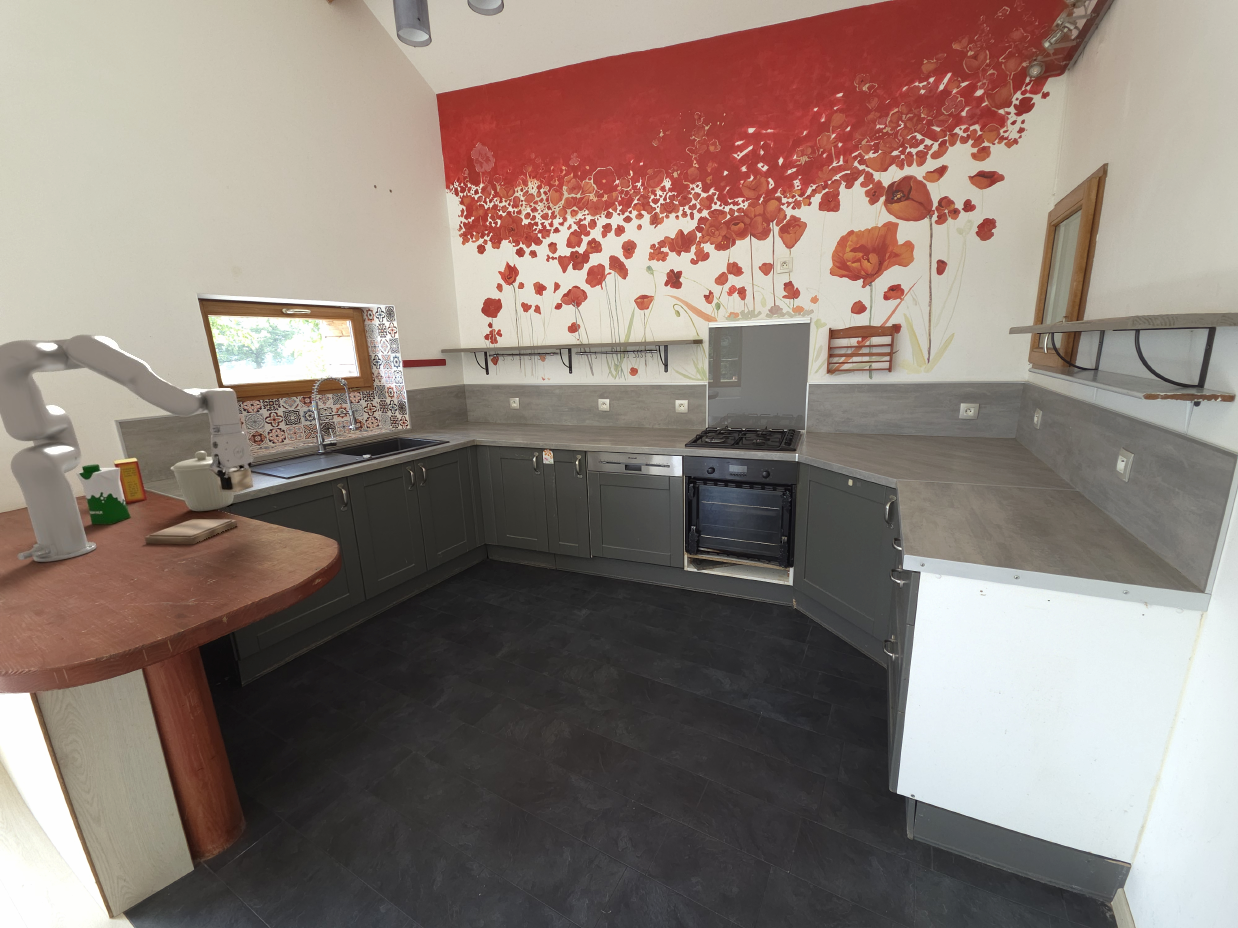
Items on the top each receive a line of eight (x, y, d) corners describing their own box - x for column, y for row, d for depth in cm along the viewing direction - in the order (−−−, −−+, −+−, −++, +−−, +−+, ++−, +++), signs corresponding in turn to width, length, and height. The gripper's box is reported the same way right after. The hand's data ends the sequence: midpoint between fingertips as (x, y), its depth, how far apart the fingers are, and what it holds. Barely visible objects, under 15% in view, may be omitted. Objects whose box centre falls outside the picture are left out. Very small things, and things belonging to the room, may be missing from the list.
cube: (237, 492, 162) (234, 473, 160) (220, 491, 163) (216, 472, 161) (253, 487, 168) (250, 468, 166) (236, 486, 168) (233, 468, 167)
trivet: (193, 544, 156) (191, 536, 156) (146, 543, 159) (144, 535, 158) (237, 525, 172) (236, 518, 171) (194, 525, 174) (192, 518, 173)
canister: (209, 516, 183) (196, 456, 179) (167, 514, 187) (153, 456, 182) (253, 500, 201) (243, 446, 196) (214, 499, 204) (203, 446, 200)
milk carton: (86, 525, 178) (70, 467, 173) (113, 516, 186) (99, 461, 182) (109, 525, 177) (94, 467, 172) (136, 516, 185) (122, 461, 181)
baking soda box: (122, 499, 209) (112, 459, 206) (144, 495, 214) (135, 456, 210) (124, 503, 203) (114, 463, 199) (146, 499, 207) (137, 459, 204)
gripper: (213, 434, 152) (223, 494, 156) (260, 425, 169) (268, 480, 173) (189, 434, 153) (201, 493, 157) (238, 425, 170) (248, 479, 174)
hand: (236, 486), depth 165 cm, fingers closed on cube, 6 cm apart
